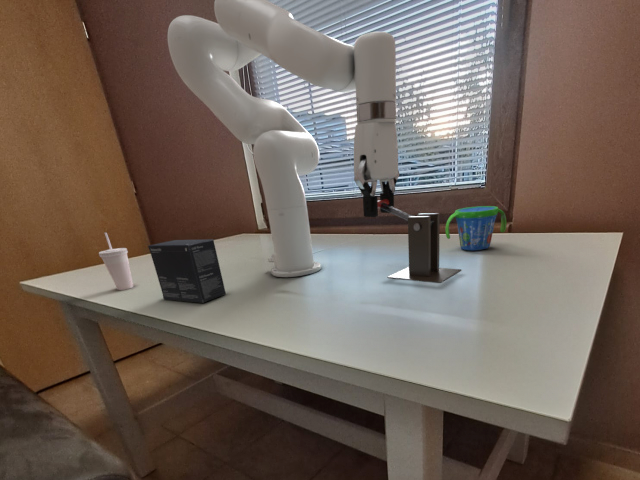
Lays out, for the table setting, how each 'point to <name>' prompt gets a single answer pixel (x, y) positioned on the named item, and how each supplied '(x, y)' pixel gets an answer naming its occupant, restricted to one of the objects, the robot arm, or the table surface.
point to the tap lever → (395, 210)
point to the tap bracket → (424, 251)
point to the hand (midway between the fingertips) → (379, 213)
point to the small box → (188, 270)
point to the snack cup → (476, 226)
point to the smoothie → (117, 266)
